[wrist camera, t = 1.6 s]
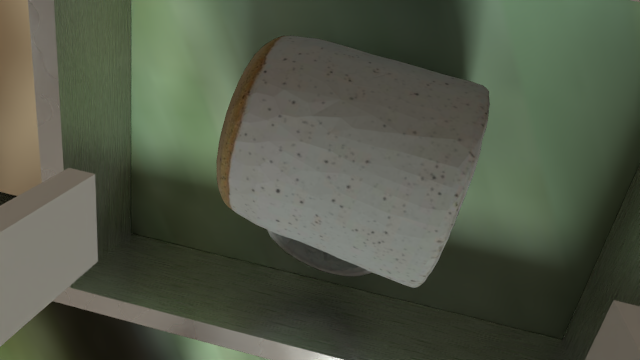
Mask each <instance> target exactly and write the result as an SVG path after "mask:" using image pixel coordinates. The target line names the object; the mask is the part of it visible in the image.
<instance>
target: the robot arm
mask: <svg viewBox="0 0 640 360" xmlns="http://www.w3.org/2000/svg"><path fill="white" fill-rule="evenodd" d="M97 262H98V249H97V218H96V187H95V174H93V173H89V172H84V171H80V170H76V169H72V168H68V169H66V170H64V171H62V172H60V173H58V174H57V175H55V176H53V177H51V178H49V179H48V180H46V181H44V182H42V183H40V184H39V185H37V186H35V187H33V188H31V189H30V190H28V191H26V192H24V193H22V194H21V195H19V196H17V197H15V198H13V199H12V200H10V201H8V202H6V203H4V204H2V205H1V206H0V346H1V345H2V344H4V343H5V342H6V341H7V340H8V339H9V338H10V337H12V336H13V335H14V334H15V333H16V332H17V331H19V330H20V329H21V328H22V327H23V326H24V325H25V324H27V323H28V322H29V321H30V320H31V319H32V318H33V317H35V316H36V315H37V314H38V313H39V312H40V311H41V310H43V309H44V308H45V307H46V306H47V305H48V304H49V303H51V302H52V301H53V300H54V299H55V298H56V297H58V296H59V295H60V294H61V293H62V292H63V291H64V290H66V289H67V288H68V287H69V286H70V285H71V284H72V283H74V282H75V281H76V280H77V279H78V278H79V277H80V276H82V275H83V274H84V273H85V272H86V271H87V270H89V269H90V268H91V267H92V266H93V265H94V264H95V263H97ZM585 360H640V306H636V305H632V304H628V303H624V302H619V301H615V300H613V302H612V304H611V306H610V309H609V311H608V313H607V315H606V317H605V319H604V321H603V323H602V325H601V328H600V330H599V332H598V334H597V336H596V338H595V340H594V342H593V344H592V346H591V349H590V351H589V353H588V355H587V357H586V359H585Z"/></svg>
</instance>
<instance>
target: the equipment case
mask: <svg viewBox="0 0 640 360" xmlns="http://www.w3.org/2000/svg"><path fill="white" fill-rule="evenodd" d="M632 1H638V2H640V0H632ZM28 10H29V23H30V36H31V49H32V62H33V75H34V88H35V101H36V113H37V126H38V139H39V152H40V165H41V178H42V182H44V181H46V180H48V179H49V178H51V177H53V176H55V175H57V174H58V173H60V172H62V171H64V170H66V169H68V168H72V169H76V170H80V171H84V172H89V173H93V174H95V187H96V218H97V249H98V262H97V263H95V264H94V265H93V266H92V267H91V268H90V269H89V270H87V271H86V272H85V273H84V274H83V275H82V276H80V277H79V278H78V279H77V280H76V281H75V282H74V283H72V284H71V285H70V286H69V287H68V288H67V289H66V290H64V291H63V292H62V293H61V294H60V295H59V296H58V297H56V298H55V299H54V300H53V301H54V302H58V303H61V304H65V305H69V306H73V307H76V308H80V309H84V310H88V311H91V312H95V313H99V314H103V315H106V316H110V317H114V318H117V319H121V320H125V321H129V322H132V323H136V324H140V325H144V326H147V327H151V328H155V329H159V330H162V331H166V332H170V333H173V334H177V335H181V336H185V337H188V338H192V339H196V340H200V341H203V342H207V343H211V344H214V345H218V346H222V347H226V348H229V349H233V350H237V351H241V352H244V353H248V354H252V355H256V356H259V357H263V358H267V359H270V360H585V359H586V357H587V355H588V353H589V351H590V349H591V346H592V344H593V342H594V340H595V338H596V336H597V334H598V332H599V330H600V328H601V325H602V323H603V321H604V319H605V317H606V315H607V313H608V311H609V309H610V306H611V304H612V302H613V300H615V301H619V302H624V303H628V304H632V305H636V306H640V165H639V167H638V170H637V172H636V174H635V176H634V179H633V181H632V183H631V185H630V188H629V190H628V192H627V194H626V197H625V199H624V201H623V204H622V206H621V208H620V210H619V213H618V215H617V217H616V219H615V222H614V224H613V226H612V228H611V231H610V233H609V235H608V238H607V240H606V242H605V244H604V247H603V249H602V251H601V253H600V256H599V258H598V260H597V262H596V265H595V267H594V269H593V272H592V274H591V276H590V278H589V281H588V283H587V285H586V287H585V290H584V292H583V294H582V296H581V299H580V301H579V303H578V305H577V308H576V310H575V312H574V315H573V317H572V319H571V321H570V324H569V326H568V328H567V330H566V333H565V335H564V337H563V339H562V340H561V339H557V338H553V337H549V336H545V335H541V334H537V333H533V332H529V331H525V330H521V329H517V328H513V327H509V326H505V325H500V324H496V323H492V322H488V321H484V320H480V319H476V318H472V317H468V316H464V315H460V314H456V313H452V312H448V311H444V310H440V309H435V308H431V307H427V306H423V305H419V304H415V303H411V302H407V301H403V300H399V299H395V298H391V297H387V296H383V295H379V294H375V293H370V292H366V291H362V290H358V289H354V288H350V287H346V286H342V285H338V284H334V283H330V282H326V281H322V280H318V279H314V278H310V277H306V276H301V275H297V274H293V273H289V272H285V271H281V270H277V269H273V268H269V267H265V266H261V265H257V264H253V263H249V262H245V261H241V260H236V259H232V258H228V257H224V256H220V255H216V254H212V253H208V252H204V251H200V250H196V249H192V248H188V247H184V246H180V245H176V244H172V243H167V242H163V241H159V240H155V239H151V238H147V237H143V236H139V235H135V234H131V0H28Z"/></svg>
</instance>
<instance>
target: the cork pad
mask: <svg viewBox="0 0 640 360" xmlns="http://www.w3.org/2000/svg"><path fill="white" fill-rule="evenodd" d="M40 183H42V178H41V165H40V152H39V139H38V126H37V113H36V101H35V88H34V75H33V62H32V49H31V36H30V23H29V10H28V0H0V192H3V193H7V194H11V195H15V196H19V195H21V194H22V193H24V192H26V191H28V190H30V189H31V188H33V187H35V186H37V185H39V184H40Z"/></svg>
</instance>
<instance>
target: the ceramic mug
mask: <svg viewBox="0 0 640 360" xmlns="http://www.w3.org/2000/svg"><path fill="white" fill-rule="evenodd" d="M489 105H490V103H489V91H488V89H486V88H485V87H484V86H483V85H480V84H477V83H474V82H471V81H467V80H463V79H460V78H456V77H452V76H448V75H444V74H441V73H437V72H434V71H431V70H427V69H424V68H420V67H417V66H414V65H410V64H407V63H403V62H400V61H397V60H393V59H389V58H385V57H380V56H376V55H373V54H369V53H366V52H363V51H360V50H356V49H353V48H350V47H346V46H343V45H340V44H336V43H333V42H329V41H325V40H321V39H316V38H308V37H300V36H281V37H278V38H276V39H273V40H272V41H270V42H269V43H267V44H266V45H264V46H263V47H262V48H261V49H260V50H259V51H258V52H257V53H256V54H255V55H254V57H253V58H252V60H251V61H250V63H249V64H248V66H247V67H246V69H245V70H244V72H243V74H242V76H241V78H240V80H239V82H238V85H237V87H236V89H235V92H234V94H233V96H232V99H231V102H230V105H229V107H228V110H227V113H226V117H225V121H224V124H223V128H222V132H221V136H220V141H219V147H218V155H217V183H218V188H219V191H220V194H221V196H222V199H223V201H224V202H225V204H226V205H227V206H228V207H229V208H230V209H232V210H233V211H235V212H236V213H237V214H239V215H241V216H242V217H244V218H246V219H247V220H249V221H251V222H253V223H254V224H256V225H258V226H260V227H263V228H265V229H267V230H268V233H269V235H270V236H271V238H272V239H273V240H274V241H275V242H276V243H277V244H278V245H279V246H280V247H281V248H282V249H283V250H284V251H286V252H287V253H288V254H290V255H291V256H293V257H294V258H296V259H297V260H299V261H301V262H303V263H305V264H307V265H309V266H311V267H313V268H316V269H318V270H321V271H324V272H327V273H331V274H336V275H341V276H362V275H366V274H370V273H375V274H378V275H381V276H383V277H386V278H388V279H391V280H393V281H396V282H398V283H400V284H403V285H406V286H409V287H413V288H416V287H419V286H420V285H421V284H423V283H424V282H425V281H426V279H427V277H428V275H429V274H430V273H431V272H432V270H433V269H434V267H435V265H436V263H437V262H438V260H439V258H440V255H441V253H442V251H443V249H444V247H445V244H446V242H447V240H448V238H449V236H450V233H451V230H452V228H453V226H454V224H455V221H456V218H457V215H458V213H459V210H460V208H461V205H462V203H463V200H464V198H465V195H466V193H467V190H468V188H469V185H470V182H471V180H472V177H473V174H474V172H475V168H476V165H477V162H478V158H479V154H480V150H481V144H482V139H483V136H484V133H485V130H486V126H487V121H488V113H489Z"/></svg>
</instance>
